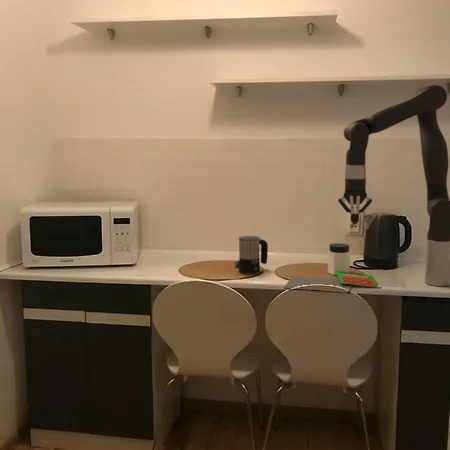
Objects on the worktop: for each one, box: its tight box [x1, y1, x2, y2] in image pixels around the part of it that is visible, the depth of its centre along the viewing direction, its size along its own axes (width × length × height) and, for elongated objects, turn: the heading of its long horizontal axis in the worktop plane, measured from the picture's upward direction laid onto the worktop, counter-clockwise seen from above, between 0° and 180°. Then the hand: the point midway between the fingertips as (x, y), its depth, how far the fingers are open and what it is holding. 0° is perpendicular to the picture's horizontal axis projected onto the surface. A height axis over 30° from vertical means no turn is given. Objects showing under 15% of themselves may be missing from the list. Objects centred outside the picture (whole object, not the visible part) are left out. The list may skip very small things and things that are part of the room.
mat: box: [283, 275, 352, 291], centre depth 226 cm, size 24×20×1 cm
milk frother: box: [234, 235, 269, 274], centre depth 251 cm, size 14×16×15 cm
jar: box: [327, 242, 351, 276], centre depth 244 cm, size 9×8×12 cm
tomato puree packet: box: [335, 271, 381, 289], centre depth 230 cm, size 15×1×20 cm
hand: (354, 223), depth 219 cm, fingers closed
